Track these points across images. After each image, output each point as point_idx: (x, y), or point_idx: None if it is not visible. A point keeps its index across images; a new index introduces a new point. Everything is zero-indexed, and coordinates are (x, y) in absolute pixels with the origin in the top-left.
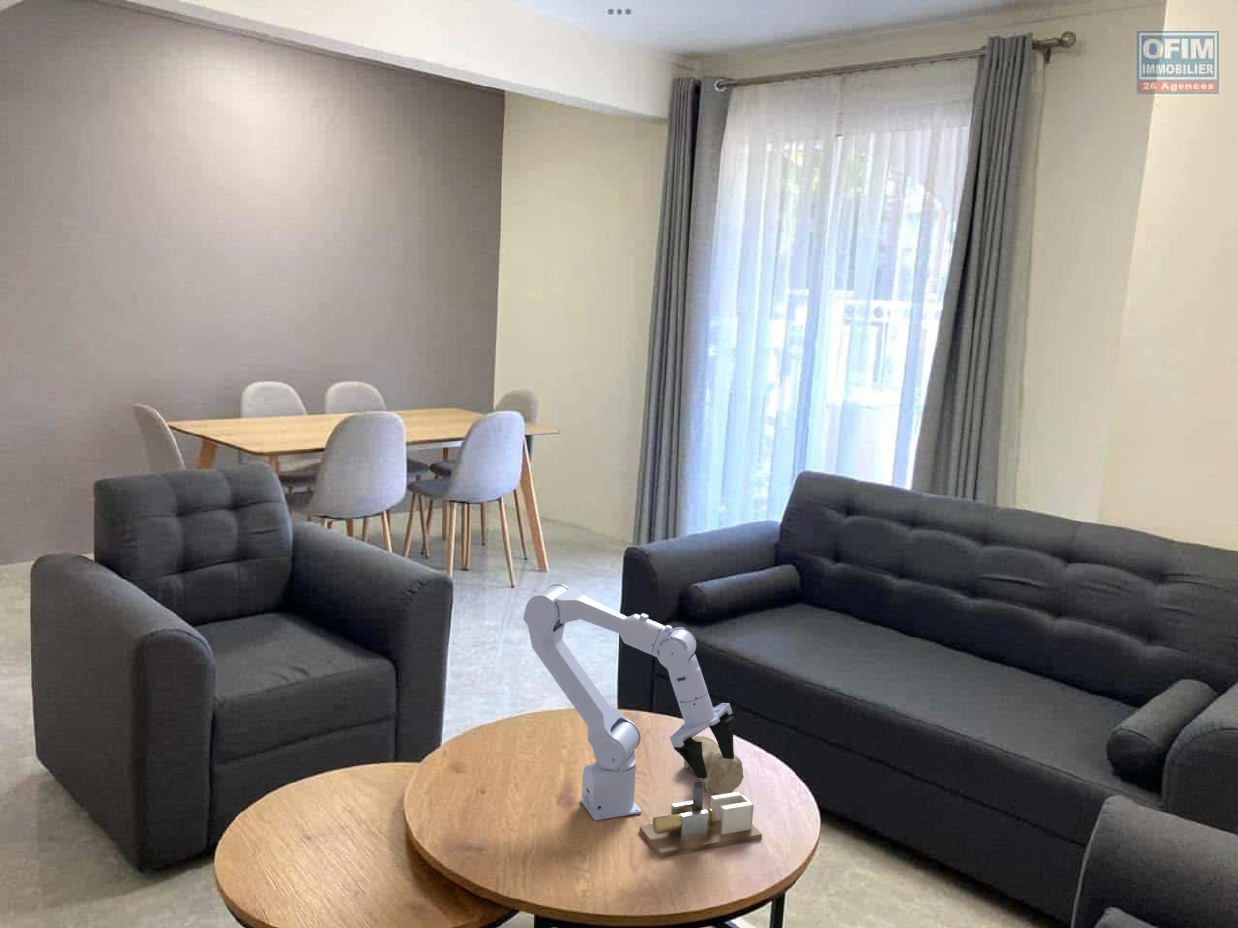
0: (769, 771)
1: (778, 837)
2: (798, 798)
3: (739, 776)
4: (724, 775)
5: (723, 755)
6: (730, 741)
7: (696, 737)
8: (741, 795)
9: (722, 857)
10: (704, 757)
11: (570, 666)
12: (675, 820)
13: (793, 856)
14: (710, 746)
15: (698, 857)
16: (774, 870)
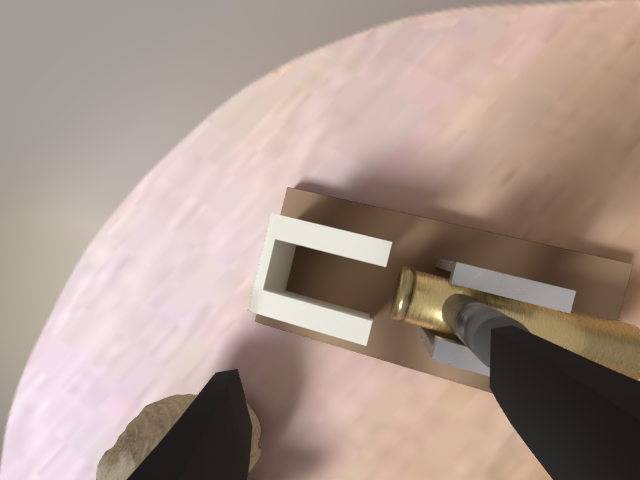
0: (36, 434)
1: (248, 174)
2: (74, 289)
3: (160, 410)
4: None
5: (248, 443)
6: (171, 472)
7: None
8: (263, 285)
9: (448, 173)
10: None
11: None
12: (567, 318)
13: (280, 87)
14: None
15: (510, 206)
16: (369, 59)
